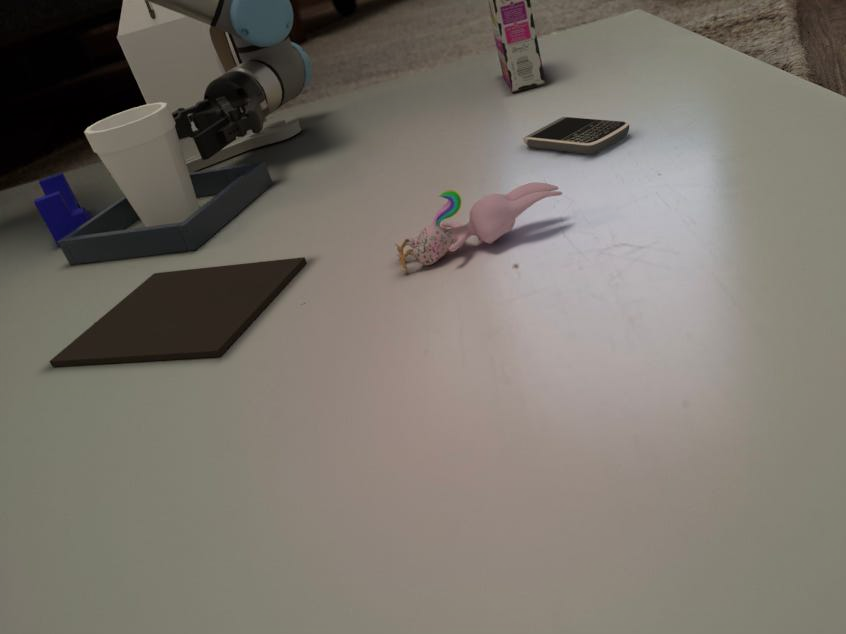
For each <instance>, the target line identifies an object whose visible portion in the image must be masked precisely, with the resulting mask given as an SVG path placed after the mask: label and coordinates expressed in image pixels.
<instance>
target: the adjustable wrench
mask: <svg viewBox="0 0 846 634" xmlns="http://www.w3.org/2000/svg"><path fill="white" fill-rule="evenodd" d="M301 131H302V128H301V125H300V123H299V120H297V119H296V120H294V121H292V122H289V123H288V124H287V121H286V120H285V119H284V120H283V119H282V120H278V121H276V122H272V123H269V124H267V125H263V129H262V131H261V132H259V133H253V132H251V133H249V134H247V135H245V136H244V137H240V138H239V139H235V140H234V141H233V142H231V143H230V144H229V145H227V146H226V147H224V148H223V149H222V150H220V151H219V152H217V153H216V154H215V155H213V156H212V157H210V158H209V159H207V160H202V157H201V155H200V154H198V155H195V156H192V157H190V158H187V159H185V162H186V165H187V168H188V172H189V173H192V172H198V171H200V170H202V169H204V168H206V167H209V166H212V165H214V164H217V163H219V162H223V161H225V160H227V159H230V158H232V157H234V156H237V155H240V154H242V153H245V152H248V151H251V150H253V149H257V148H260V147H263V146H267V145H271V144H274V143H279V142H282V141H285V140H288V139H290V138H292V137H294V136H295V135H297V134H299V133H300V132H301Z"/></svg>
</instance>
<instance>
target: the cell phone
mask: <svg viewBox="0 0 846 634" xmlns="http://www.w3.org/2000/svg"><path fill="white" fill-rule="evenodd" d="M629 131H630V124H629V122H626V121H620V120H609V119H595V118H584V117H583V118H582V117H571V116H570V117H569V116H562V117H559V118H557V119H556V120H554V121H552V122H550V123H548V124H546V125H545V126H542V127H541V128H539V129H537V130H535V131H533V132H532V133H530V134H527V135H526V136H524V137H522V140H523V143H524V144H525V145H526V146H527V147H528V148H535V149H542V150H551V151H558V152H559V151H560V152H568V153H574V154H575V153H576V154H582V155H583V154H584V155H596V154H597V153H599V152H601V151H602V150H604V149H606V148H608V147H610V146H611V145H613V144H615V143H616V142H618V141H620V140H622V139H623V138H625V137H626V136H627V135H628V133H629Z"/></svg>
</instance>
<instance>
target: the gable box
mask: <svg viewBox="0 0 846 634" xmlns="http://www.w3.org/2000/svg"><path fill="white" fill-rule="evenodd" d="M120 11H121V12H120V16H119V17H120V18H119V23H118V30H117V34H116V39H117V41H118V43H119V46H120V47H121V50H122V52H123V55H124V57H125V59H126V61H127V63H128V65H129V68H130V70H131V73H132V75H133V77H134V79H135V81H136V83H137V85H138V88H139V90H140V93H141V95H142V96H143V99H144V101H145V103H146V105H147V104H152V103H158V102H163V103H167V104H168V107H169V109H170V111H171V113H173V112H175V111H176V110H178V109H179V108H185V109H187V108H190V107H193V106H195V105H196V103H198V102H200V101H203V100H204V94H205V90H206V88H207V86H208V85H209V84H210V83H211V82H212V81H213V80H215V79H217V78H218V77H220V76H222V75H223V74H225V73H226V72H228V71H229V70H231V69H233V68H235V67H236V66H238V65H240V64H241V63H240V61H239V58H238V56H237V53H236V51H235V48H234V46H233V45H234V44H233V43H232V41H231V38H230V35H229V33H227V32H225V31H222V30H220V29H217V28H215V27H213V26H210V25H208V24H205V23H203V22H200V21H198V20H195V19H193V18H190V17H187V16H185V15H182V14H180V13H177V12H175V11H172V10H170V9H167V8H164V7H162V6H159V5H157V4H154V3H152V2H149V1H146V0H122V5H121V10H120ZM191 125H192V126H191V128H192V130H193V131H196V130H198V129H197V128H196V127H195V124H194V122H191Z"/></svg>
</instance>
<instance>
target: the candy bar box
mask: <svg viewBox="0 0 846 634" xmlns="http://www.w3.org/2000/svg"><path fill="white" fill-rule="evenodd" d="M486 5H487V9H488V14H489V18H490V23H491V28H492V33H493V38H494V41H495V47H496V51H497V57H498V61H499V65H500V68H501V74H502V77H503V78H504V80H505V83H506V84H507V85H508V87H509V89H510V91H511V92H512V93H517V92H520V91H521V92H522V91H524V90H528V89H529V90H530V89H532V88H536V87H540V86H543V85H545V84H546V78H545V73H544V68H543V62H542V55H541V51H540V46H539V41H538V36H537V29H536V25H535V20H534V19H535V18H534V15H533V9H532V3H531V0H486Z"/></svg>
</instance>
